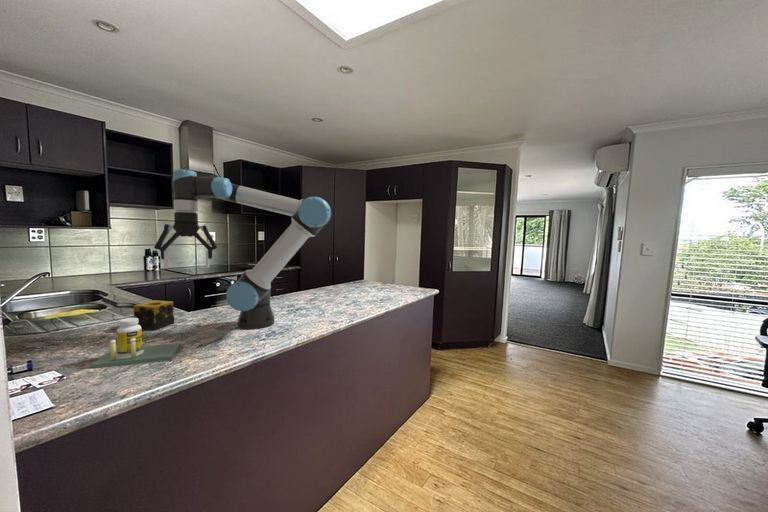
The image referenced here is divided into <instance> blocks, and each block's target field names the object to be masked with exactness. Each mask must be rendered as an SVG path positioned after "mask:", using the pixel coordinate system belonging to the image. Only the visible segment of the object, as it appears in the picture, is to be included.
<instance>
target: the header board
mask: <svg viewBox="0 0 768 512" xmlns="http://www.w3.org/2000/svg"><path fill="white" fill-rule="evenodd" d="M135 341H136V338H132V339H130V343H131V356H119V355H118V354H117V339H111V340H109V345H110V350H108V352H106V353H105V354H103V355H102V356H101V357H100V358H98V359H97V360H96V361H94V362H93V363H92V365H91V367H92V369H97V368H106V367H108V368H109V367H115V366H116V367H118V366H125V365H127V366H128V365H135V364H137V365H138V364H143V363H144V364H146V363H155V362H163V361H172V360H173V359H174V358H175V356H176V354H178V352H179V351H180V349H181V348H182V347H183V343H182V342H177V343H175V342H174V343H165V344H153V345H142V351H141V352H140V353H138V354H136V342H135Z"/></svg>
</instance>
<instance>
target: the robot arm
mask: <svg viewBox="0 0 768 512" xmlns="http://www.w3.org/2000/svg"><path fill="white" fill-rule="evenodd" d="M172 173H173V174H172V176H173V178H172V184H173V210H174V212H173V216H174V217H173V218H174V219H173V220H174V221H173V222H174V224H173V225H172V224H166V223H165V224H164V225H163V231H162V232H161V234H160V235H159V237H158V239H157V241H156V243H155V245H154V247H153V248H154V249H155V250H158V251H160V259H161V260H163V262H164V263H163V264H164V269H168V268H170V262H169V261H170V260H169V259H170V255H169V249H168V248H169V247H170V246H171V245H172V244H173V243H174V242H175V241H176V240H177V239H178V238H179V237H184V238H185V237H188V238H189V237H191V238H192V237H194V238H195V239H196V240H198V241H199V242H200V244H201V245H203V246H204V247H205V249H206V250H205V268H206V269H207V268H209V267H211V266H210V260H212V259H213V250H216V249H217V248H218V245H217V244H216V242H215V240H214V238H213V237H212V235H211V233H210V231H209V229H208V228H209V227H208V225H205V224H204V225H199V218H198V217H199V215H198V213H197V212H198V197H199V198H201V197H202V198H213V199H214V198H215V199H218V200H223V201H227V202H230V203H236V204H240V205H245V206H248V207H253V208H256V209H260V210H265V211H269V212H272V213H273V212H274V213H277V214H281V215H285V216H289V217H291V223H290V225H289V226H288V227H287V228H286V229H285V231H283V233H282V234H281V235H280V236H279V238H278V239H277V240H276V241H275V242H274V244H272V246H271V247H270V248H269V249H268V251H266V253H265V254H264V255H263V256H262V257H261V259H260V260H259V261H258V262H257V263H256V265H255V266H254V267H253V268H252V269H246V270H245V272H243V273H241V276H240V277H239V278H238V279H237V281H236V282H233V283H232V284H231V285H230V286H229V287H228V289H227V290H226V295H225V296H226V301H227V303H228V305H229V306H230V307H231V308H232V309H234V310H236V311H239V315H238V319H237V327H238V328H241V329H245V330H246V329H247V330H250V329H252V330H255V329H256V330H257V329H264V328H267V327H270V326H272V325H274V324H275V314H274V313H273V310H272V307H271V288H272V286H271V285H272V283H271V282H273V280H274V279H275V278H276V277H277V276H278V274H279V273H280V272H281V271H282V270H283V268H284V267H286V265H287V264H288V262H289V261H290V260H291V259H292V258H293V257H294V256H295V255H296V253H297V252H298V251H299V250H300V249H301V247H302V246H303V245H304V244H305V243H306V242H307V241H308V239H309V238H314V237H316V236H317V234H319V232H320V231H321V230H322V229H323V228H324V226H326V225H327V224H328V223H330V221H331V219H332V215H333V214H332V208H331V207H330V204H329V203H328V202H327V201H326V200H325V199H323V198H322V197H319V196H309V197H306V198H302V199H300V200H299V199H296V198H292V197H289V196H284V195H279V194H275V193H271V192H267V191H264V190H259V189H256V188H251V187H247V186H243V185H239V184H236V183H231V181H230V179H229V178H226V177H220V176H216V177H215V176H198V175H197V172H196V171H193V170H191V169H180V168H179V169H175V170H174V171H173V172H172ZM172 229H173V230H174V231H175V232H174V233H173V235H171V237H170V238H169V239H168V240H167V241H166V242H165V240H166V238H167V236H168V234H169V233H170V231H172ZM199 230H201V232H203V233H204V235H205V237H206V238H207V240H208V242H207V241H206V240H205V239H204V238H203V237H202V236H201V235H200V233H198V232H199ZM164 242H165V243H164ZM163 243H164V244H163ZM209 243H210V244H209Z"/></svg>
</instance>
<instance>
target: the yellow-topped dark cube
mask: <svg viewBox="0 0 768 512" xmlns="http://www.w3.org/2000/svg"><path fill="white" fill-rule="evenodd" d="M132 307H133V318H138V320H139V322H138V325H140V326H141V328H142V329H144V330H143V331H154V330H155V331H158V330H160V328H161V329H163V328H166V327H168V326H171V324H172V325H174V323H175V314H174V310H175V309H174V301H171V300H168V301H167V300H158V299H154V300H149V301H146V302H142V303H138V304H134V305H133V306H132ZM157 329H158V330H157Z"/></svg>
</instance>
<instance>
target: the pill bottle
mask: <svg viewBox="0 0 768 512" xmlns="http://www.w3.org/2000/svg"><path fill="white" fill-rule="evenodd" d="M138 322H139V320H138V318H134V317H129V318H127V317H126V318H123V319H120V320H119V327H118V328H117V329H116V349H117V354H118V355H119V356H131V343H130V339H132V338H136V341H135V342H136V354H138V353H140V352H141V351H142V346H143V337H142V336H143V332H142V328H141V326H140V325H138Z"/></svg>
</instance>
